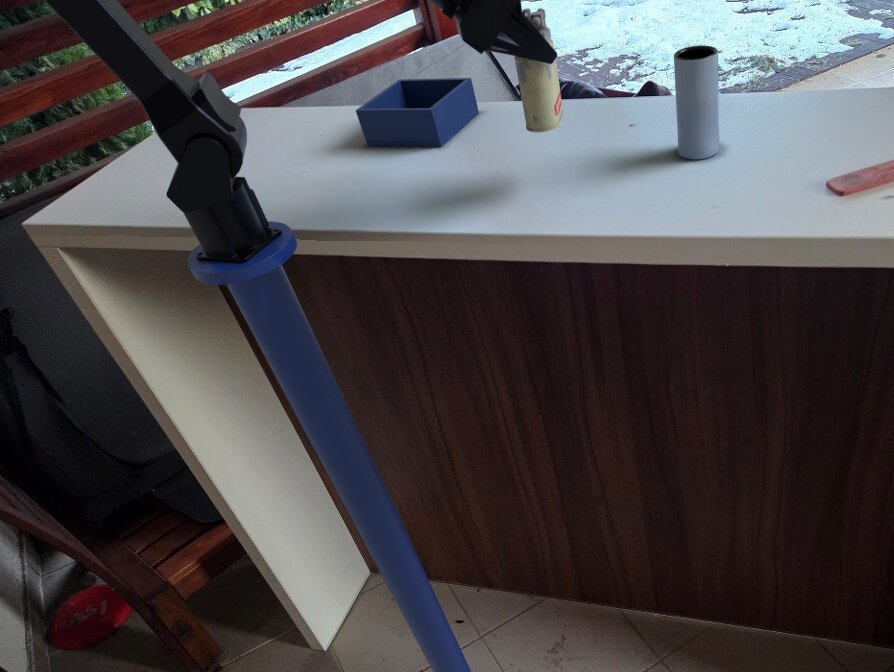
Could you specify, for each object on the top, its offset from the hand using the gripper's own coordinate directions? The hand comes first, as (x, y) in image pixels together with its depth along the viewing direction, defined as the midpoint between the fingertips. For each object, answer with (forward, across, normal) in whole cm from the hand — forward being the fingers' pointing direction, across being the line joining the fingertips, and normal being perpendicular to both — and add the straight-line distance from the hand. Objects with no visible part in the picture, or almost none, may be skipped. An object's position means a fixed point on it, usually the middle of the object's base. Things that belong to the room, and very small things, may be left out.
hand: (546, 49), depth 74 cm
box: (0, +26, +19) cm, 32 cm away
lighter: (+4, 0, +6) cm, 7 cm away
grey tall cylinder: (+20, -1, -2) cm, 20 cm away
